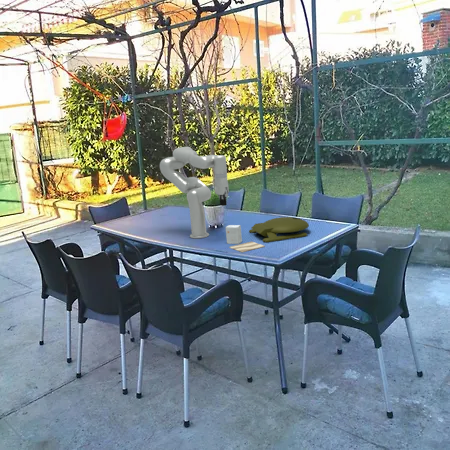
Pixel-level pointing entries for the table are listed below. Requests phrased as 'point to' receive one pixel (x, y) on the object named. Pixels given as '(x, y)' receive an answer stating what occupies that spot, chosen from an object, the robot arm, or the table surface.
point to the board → (247, 246)
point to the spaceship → (280, 228)
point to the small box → (233, 234)
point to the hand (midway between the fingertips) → (223, 205)
